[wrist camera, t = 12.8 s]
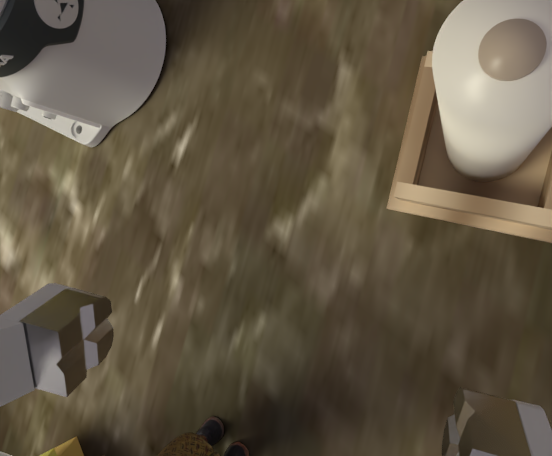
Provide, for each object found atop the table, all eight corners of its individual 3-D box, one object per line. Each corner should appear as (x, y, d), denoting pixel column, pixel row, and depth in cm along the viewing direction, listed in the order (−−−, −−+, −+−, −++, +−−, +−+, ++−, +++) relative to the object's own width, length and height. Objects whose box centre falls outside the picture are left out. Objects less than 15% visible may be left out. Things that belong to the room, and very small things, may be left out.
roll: (438, 174, 31) (416, 114, 16) (456, 103, 30) (450, -28, 15) (518, 188, 29) (579, 134, 14) (537, 112, 28) (621, -28, 14)
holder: (389, 209, 33) (379, 205, 29) (423, 63, 33) (418, 38, 28) (555, 243, 29) (571, 244, 25) (599, 77, 28) (622, 50, 24)
